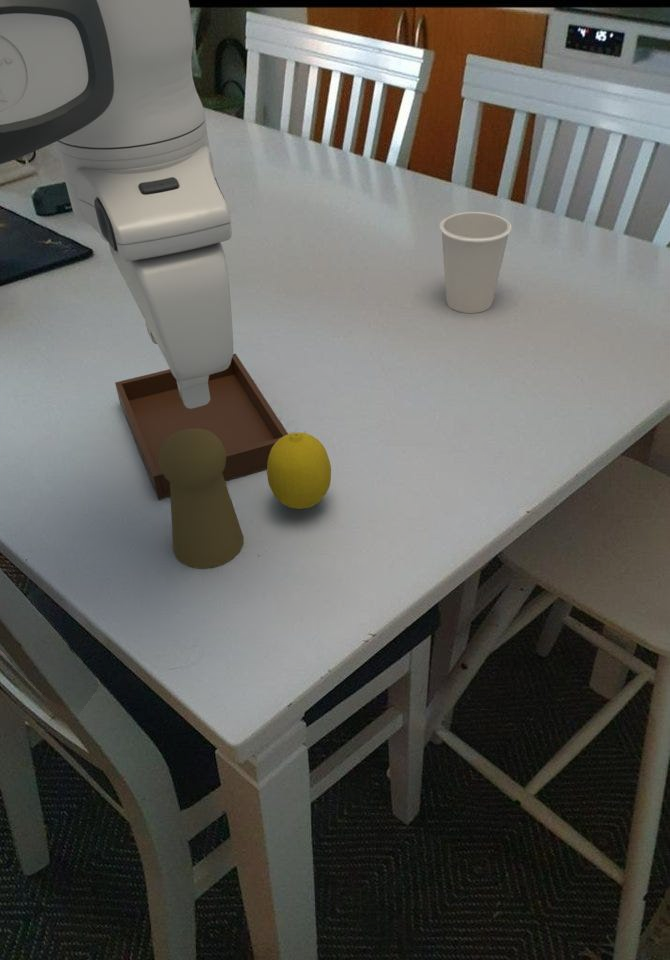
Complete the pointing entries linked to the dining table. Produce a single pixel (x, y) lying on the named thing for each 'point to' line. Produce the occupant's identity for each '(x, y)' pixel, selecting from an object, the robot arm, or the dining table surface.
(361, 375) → the dining table surface
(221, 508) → the cork
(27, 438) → the dining table surface
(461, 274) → the dixie cup
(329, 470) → the lemon
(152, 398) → the tray
